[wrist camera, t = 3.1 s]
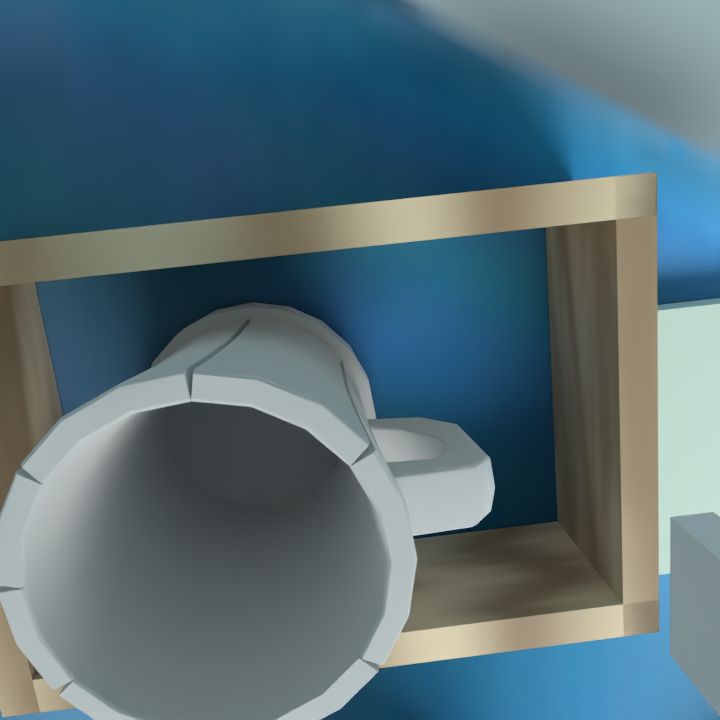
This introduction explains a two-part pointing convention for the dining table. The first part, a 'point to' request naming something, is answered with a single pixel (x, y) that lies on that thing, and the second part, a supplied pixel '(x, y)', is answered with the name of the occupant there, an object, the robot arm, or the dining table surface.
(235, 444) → the cup
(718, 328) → the mat
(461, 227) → the caddy
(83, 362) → the dining table surface
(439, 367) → the dining table surface
